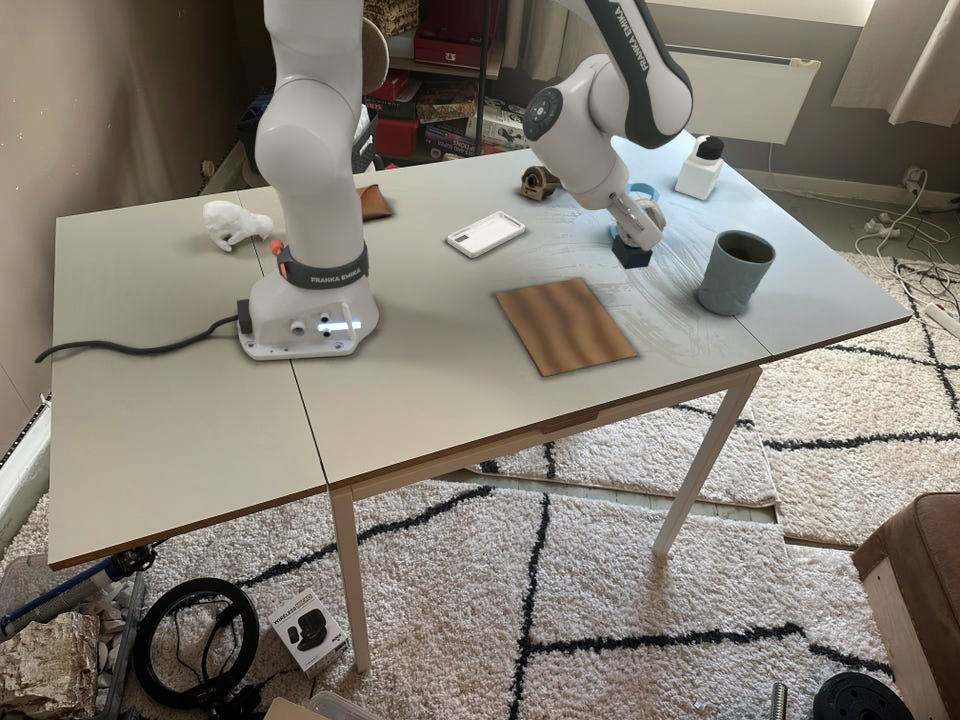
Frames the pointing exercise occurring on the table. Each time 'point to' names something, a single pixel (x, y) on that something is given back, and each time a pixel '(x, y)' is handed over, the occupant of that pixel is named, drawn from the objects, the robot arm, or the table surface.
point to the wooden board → (564, 327)
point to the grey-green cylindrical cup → (734, 271)
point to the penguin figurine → (233, 223)
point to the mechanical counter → (539, 183)
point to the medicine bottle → (701, 168)
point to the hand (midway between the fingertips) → (637, 226)
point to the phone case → (486, 234)
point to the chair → (638, 188)
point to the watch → (627, 247)
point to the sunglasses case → (372, 203)
